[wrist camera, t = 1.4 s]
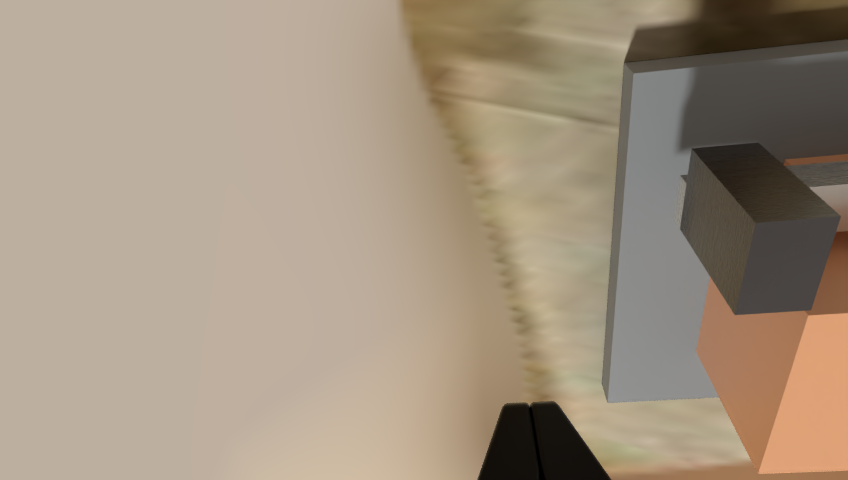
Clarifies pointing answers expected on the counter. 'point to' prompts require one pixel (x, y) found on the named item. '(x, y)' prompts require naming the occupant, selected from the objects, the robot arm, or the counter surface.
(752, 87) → the latch plate
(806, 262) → the latch bolt
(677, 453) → the counter surface
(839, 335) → the cover
